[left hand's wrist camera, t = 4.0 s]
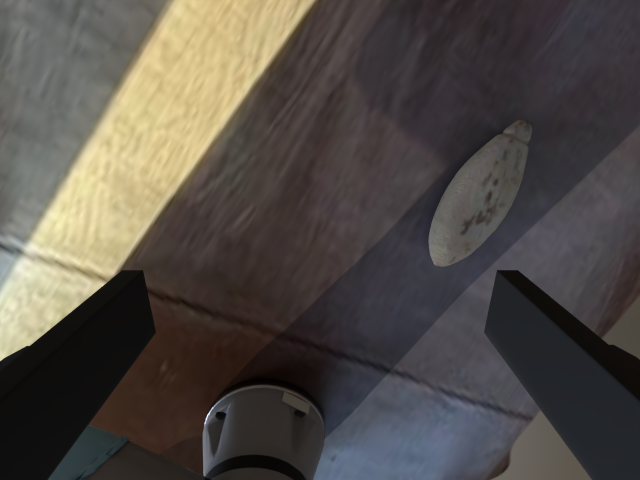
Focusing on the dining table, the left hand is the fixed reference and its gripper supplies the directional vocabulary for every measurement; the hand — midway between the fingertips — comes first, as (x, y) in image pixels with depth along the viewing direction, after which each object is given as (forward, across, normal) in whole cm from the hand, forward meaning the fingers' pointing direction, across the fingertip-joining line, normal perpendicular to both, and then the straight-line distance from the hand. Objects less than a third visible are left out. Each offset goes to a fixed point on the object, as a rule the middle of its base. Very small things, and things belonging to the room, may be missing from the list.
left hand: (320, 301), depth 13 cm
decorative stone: (+23, -15, +1) cm, 28 cm away
